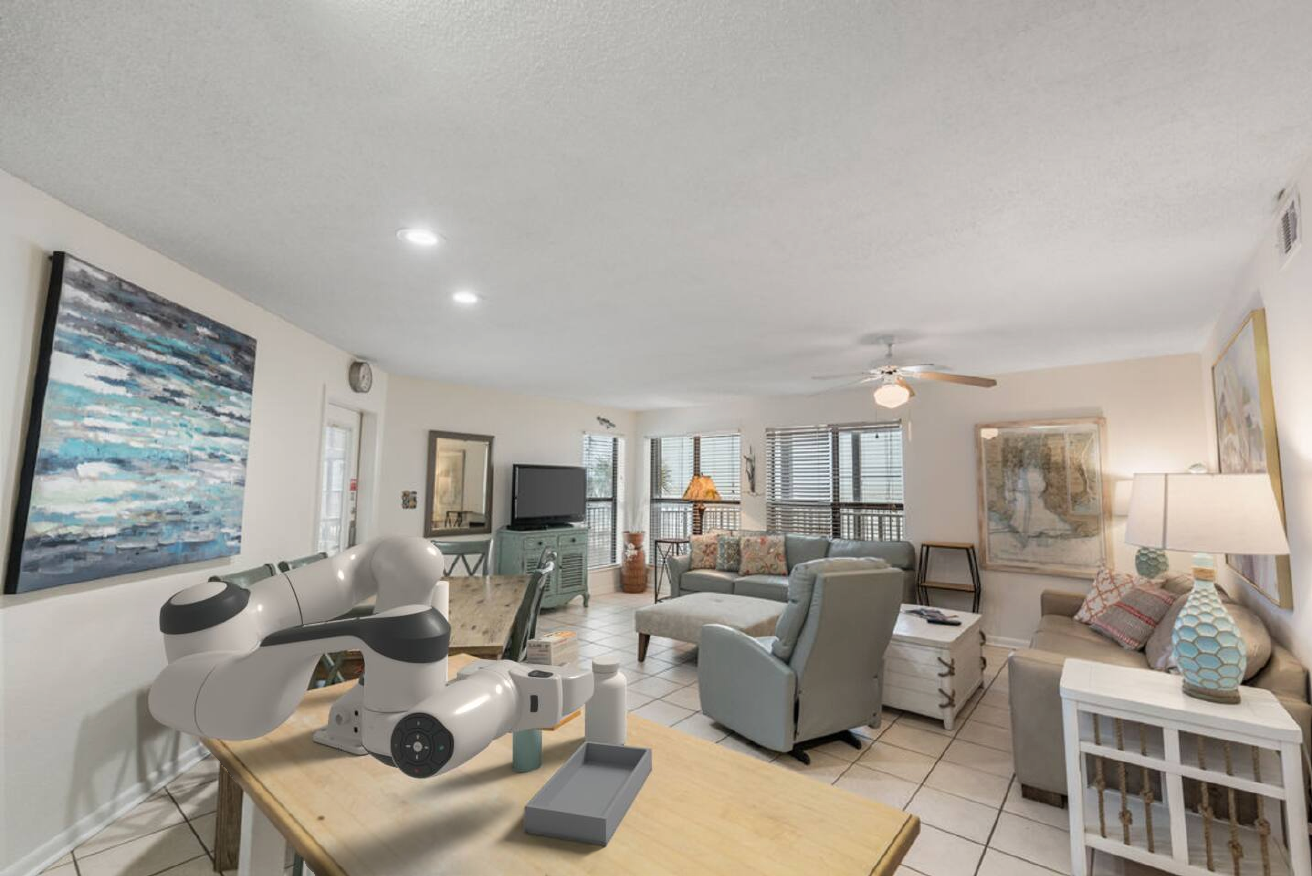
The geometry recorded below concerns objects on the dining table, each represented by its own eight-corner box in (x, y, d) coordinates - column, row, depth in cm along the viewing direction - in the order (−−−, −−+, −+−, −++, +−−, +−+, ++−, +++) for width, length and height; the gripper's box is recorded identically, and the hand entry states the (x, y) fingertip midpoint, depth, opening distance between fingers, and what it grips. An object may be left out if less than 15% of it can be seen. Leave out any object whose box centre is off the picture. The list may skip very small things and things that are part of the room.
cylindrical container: (410, 691, 136) (412, 585, 138) (426, 681, 143) (428, 580, 145) (437, 692, 135) (439, 585, 137) (452, 682, 142) (454, 581, 144)
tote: (524, 832, 79) (524, 805, 79) (585, 761, 99) (585, 740, 99) (606, 846, 75) (605, 818, 76) (651, 769, 96) (651, 748, 96)
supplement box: (556, 713, 93) (554, 630, 96) (581, 715, 92) (578, 631, 94) (526, 729, 86) (525, 639, 88) (553, 731, 84) (551, 640, 86)
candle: (506, 770, 96) (507, 691, 98) (521, 756, 101) (522, 681, 102) (533, 773, 95) (533, 693, 96) (547, 759, 100) (546, 684, 101)
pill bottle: (621, 752, 102) (620, 667, 104) (579, 749, 104) (578, 665, 105) (631, 733, 110) (630, 654, 111) (592, 731, 112) (591, 653, 113)
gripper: (436, 711, 79) (494, 680, 93) (567, 729, 73) (609, 692, 86) (437, 665, 80) (494, 640, 93) (567, 678, 74) (608, 650, 87)
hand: (550, 665), depth 90 cm, fingers closed on supplement box, 5 cm apart
